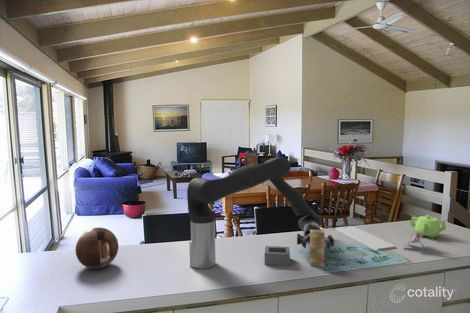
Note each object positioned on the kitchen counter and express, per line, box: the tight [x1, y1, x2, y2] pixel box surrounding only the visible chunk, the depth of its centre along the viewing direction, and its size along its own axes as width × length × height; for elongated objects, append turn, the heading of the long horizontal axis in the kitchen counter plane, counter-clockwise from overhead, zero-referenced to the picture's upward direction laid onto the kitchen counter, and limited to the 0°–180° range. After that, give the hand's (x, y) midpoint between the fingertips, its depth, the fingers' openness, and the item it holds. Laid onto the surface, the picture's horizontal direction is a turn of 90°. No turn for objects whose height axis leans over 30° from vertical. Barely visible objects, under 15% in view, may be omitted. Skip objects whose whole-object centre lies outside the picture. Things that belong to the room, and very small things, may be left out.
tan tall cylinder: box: [309, 229, 326, 267], centre depth 136 cm, size 5×4×13 cm
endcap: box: [264, 245, 291, 267], centre depth 139 cm, size 10×8×5 cm
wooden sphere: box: [75, 227, 119, 270], centre depth 134 cm, size 15×15×15 cm
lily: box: [405, 231, 427, 251], centre depth 152 cm, size 12×12×10 cm
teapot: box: [409, 214, 447, 240], centre depth 169 cm, size 12×12×10 cm
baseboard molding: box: [332, 224, 397, 252], centre depth 166 cm, size 31×3×12 cm
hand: (316, 246), depth 136 cm, fingers open, 8 cm apart
